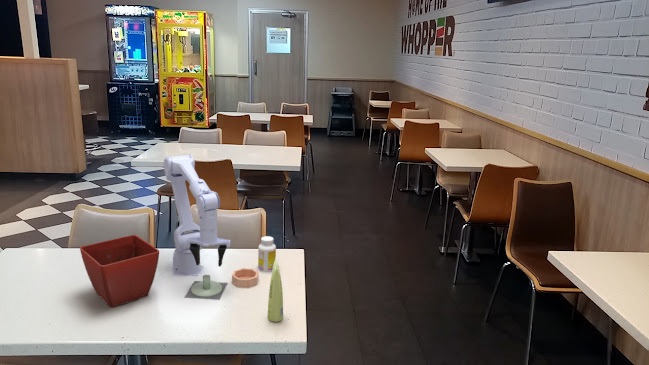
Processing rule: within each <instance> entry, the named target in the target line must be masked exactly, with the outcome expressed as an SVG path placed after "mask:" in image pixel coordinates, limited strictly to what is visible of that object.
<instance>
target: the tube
mask: <svg viewBox="0 0 649 365" xmlns="http://www.w3.org/2000/svg"><path fill="white" fill-rule="evenodd" d="M281 276H282V275H281V272H280V267H279V264H278V259H277V256H276V257H275V261H274V265H273V270H272V271H271V276H270V283H269V290H268V300H267V319H268V320H269V321H271V322H272V323H274V322H275V323H276V322H280V321H282V320H283V318H284V296H283V295H284V293H283V284H282V277H281Z"/></svg>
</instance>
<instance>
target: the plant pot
mask: <svg viewBox="0 0 649 365" xmlns="http://www.w3.org/2000/svg"><path fill="white" fill-rule="evenodd" d="M79 252H80V255H81V258H82V262H83V264H84V268H85V271H86V274H87V276H88V278H89V281H90V282H91V286H92V287H93V289H94V292H95V293H96V295H97V296H99V297H100V299H102V301H103V302H104V303H105V304H106V305H107V306H108V307H110V308H114V307H117V306H121V305H123V304H127V303H131V302H134V301H136V300H137V301H138V300H139V299H142V298H144V297H147V296H148V295H149V294H150V292H151V288H152V285H153V283H154V280H155V277H156V272H157V269H158V264H159V256H160V250H159V249H158V248H156V247H154V246H153V245H152V244H151V243H149V242H148V241H146V240H145V239H143V238H141V237H140V236H138V235H137V234H131V235H127V236H123V237H118V238H114V239H108V240H105V241H100V242H95V243H92V244H87V245H86V244H85V245H82V246H80V247H79Z"/></svg>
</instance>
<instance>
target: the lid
mask: <svg viewBox="0 0 649 365" xmlns="http://www.w3.org/2000/svg"><path fill="white" fill-rule="evenodd" d="M201 281H202V282H198V283H196V284H194V285H193V286H192V285H191V286H192V288H191V287H190V288H191V292H192V294H193V295H195V296H197V297H212V296H215V295H218V294H219V293H220V292H221V291H222V286H221V284H220V283H221V282H220V283H218V281H214V280H211V275H209V274H203V276H202V280H201Z"/></svg>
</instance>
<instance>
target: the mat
mask: <svg viewBox="0 0 649 365" xmlns="http://www.w3.org/2000/svg"><path fill="white" fill-rule="evenodd" d="M193 281H194V282H193V283H192V285H190V288H189V289H188V291H187V292H186V294H185V295H184V298H187V299H202V300H213V301H214V300H215V301H218V300H219V301H220V300H221V298H222V296H223V293H224V291H225V289H226V287H227V285H228V282H218V281H217V282H218V283H220V284H221V286H222V291H221V292H220V293H219V294H218V295H215V296H212V297H197V296H195V295H193V294H192V292H191V288H192V286H193V285H194V284H196V283H198V282H202V281H203V280H193Z"/></svg>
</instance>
